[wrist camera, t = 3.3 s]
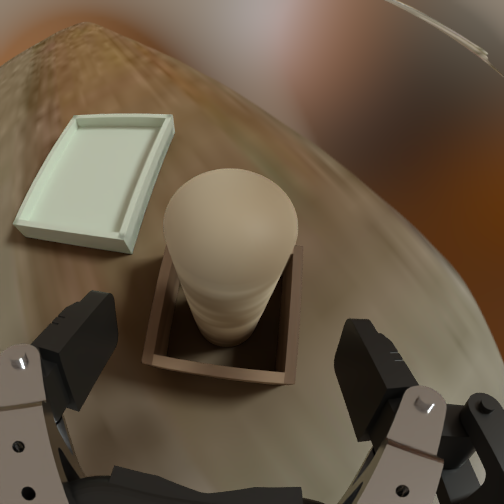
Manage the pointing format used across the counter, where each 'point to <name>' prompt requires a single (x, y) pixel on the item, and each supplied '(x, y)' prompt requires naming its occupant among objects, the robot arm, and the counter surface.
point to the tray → (97, 181)
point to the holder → (157, 358)
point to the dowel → (229, 248)
